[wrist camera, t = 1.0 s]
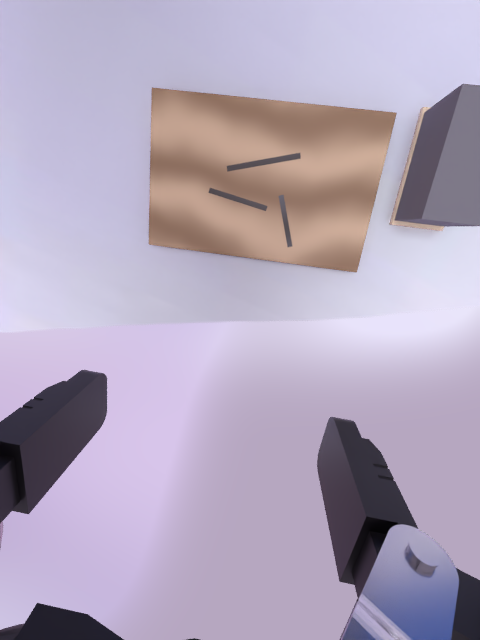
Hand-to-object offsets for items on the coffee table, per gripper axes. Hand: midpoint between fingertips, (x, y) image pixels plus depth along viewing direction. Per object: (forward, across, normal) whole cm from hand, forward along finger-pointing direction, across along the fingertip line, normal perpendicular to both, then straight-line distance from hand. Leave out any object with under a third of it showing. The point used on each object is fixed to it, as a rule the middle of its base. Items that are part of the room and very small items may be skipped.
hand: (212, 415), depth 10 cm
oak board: (+24, +1, -10) cm, 26 cm away
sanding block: (+24, -15, -14) cm, 31 cm away
